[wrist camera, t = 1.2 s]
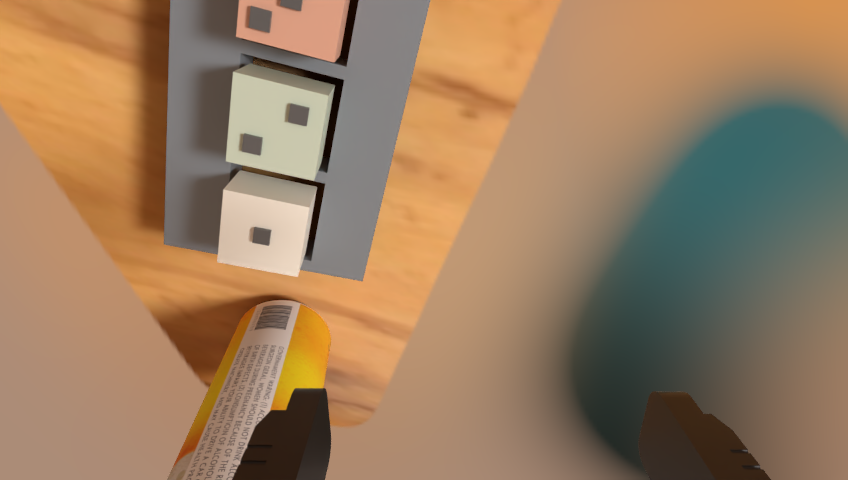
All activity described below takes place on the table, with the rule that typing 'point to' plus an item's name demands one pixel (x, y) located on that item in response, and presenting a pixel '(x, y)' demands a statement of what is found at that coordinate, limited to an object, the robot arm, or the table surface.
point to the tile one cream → (265, 223)
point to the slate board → (353, 139)
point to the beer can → (253, 385)
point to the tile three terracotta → (295, 25)
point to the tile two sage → (278, 121)
